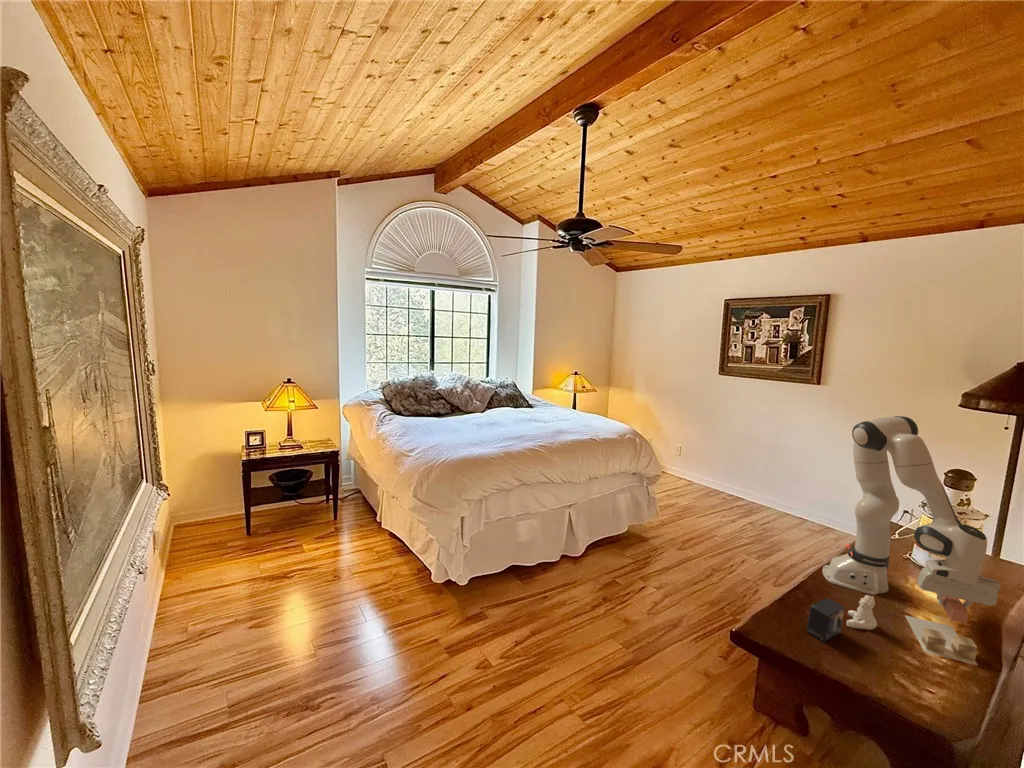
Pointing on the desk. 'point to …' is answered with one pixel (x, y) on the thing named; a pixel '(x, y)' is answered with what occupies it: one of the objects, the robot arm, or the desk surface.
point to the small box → (825, 619)
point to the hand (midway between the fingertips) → (951, 607)
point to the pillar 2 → (964, 647)
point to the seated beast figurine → (863, 615)
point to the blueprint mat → (946, 630)
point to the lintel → (955, 609)
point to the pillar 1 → (933, 640)
